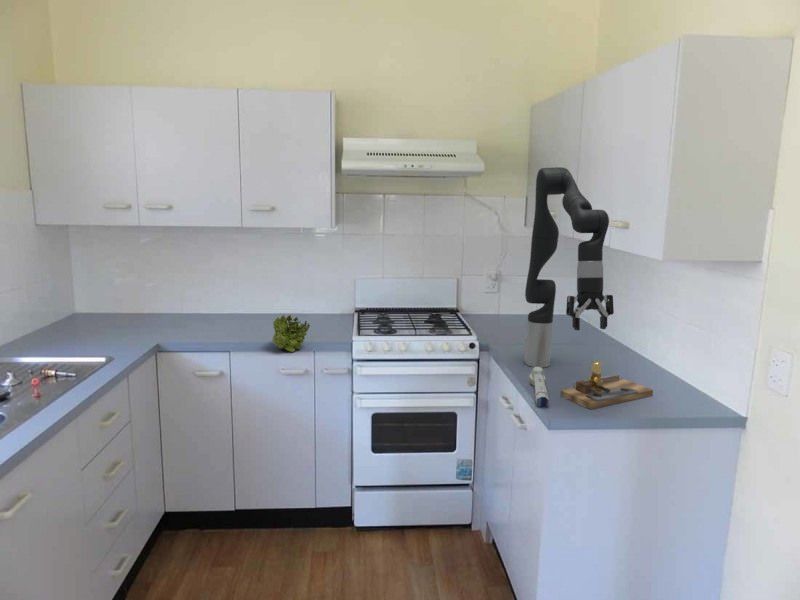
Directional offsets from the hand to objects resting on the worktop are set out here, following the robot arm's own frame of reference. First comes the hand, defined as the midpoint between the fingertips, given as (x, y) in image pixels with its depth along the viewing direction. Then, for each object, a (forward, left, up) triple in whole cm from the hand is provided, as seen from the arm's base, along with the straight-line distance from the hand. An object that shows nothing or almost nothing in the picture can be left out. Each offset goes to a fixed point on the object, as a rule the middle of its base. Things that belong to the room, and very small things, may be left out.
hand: (589, 329), depth 172 cm
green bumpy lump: (-101, -64, -25) cm, 122 cm away
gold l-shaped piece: (-5, +11, -23) cm, 26 cm away
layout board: (-4, +14, -25) cm, 29 cm away
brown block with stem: (-5, +6, -23) cm, 24 cm away
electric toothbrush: (-15, -5, -25) cm, 30 cm away
